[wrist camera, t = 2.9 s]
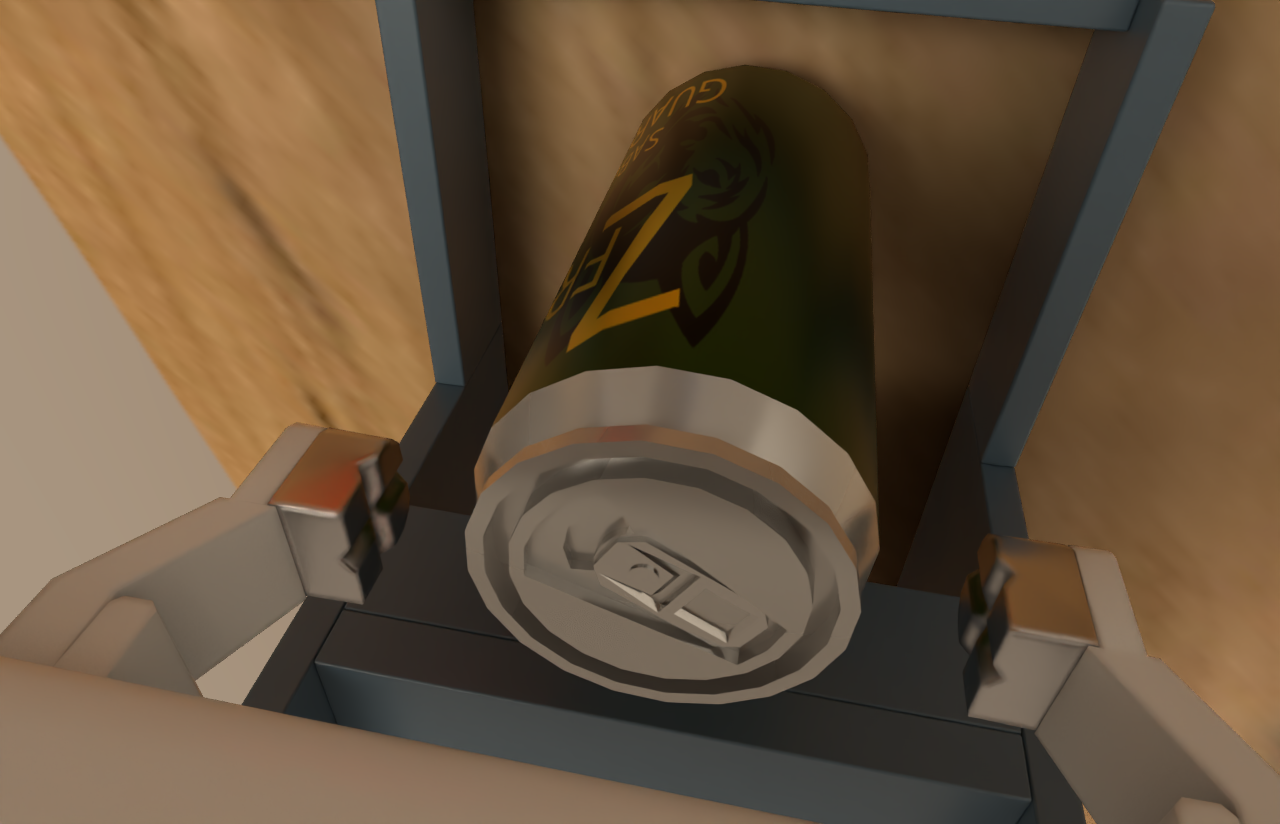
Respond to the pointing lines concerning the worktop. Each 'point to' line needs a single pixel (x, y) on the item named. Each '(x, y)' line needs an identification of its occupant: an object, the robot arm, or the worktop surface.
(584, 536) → the green drink can
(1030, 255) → the rack
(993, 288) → the worktop surface
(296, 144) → the worktop surface
